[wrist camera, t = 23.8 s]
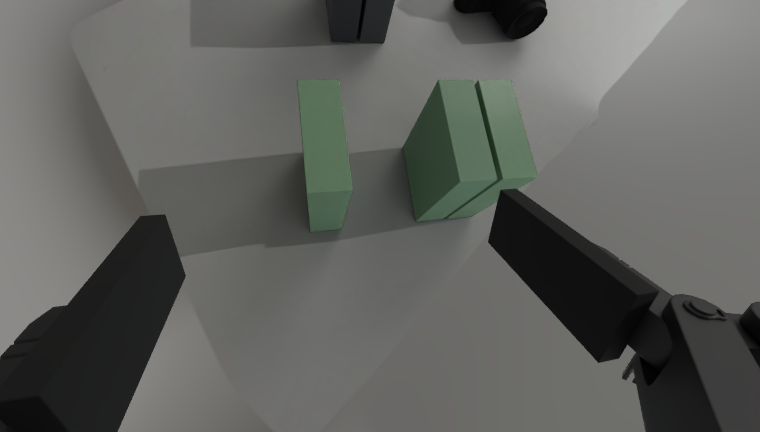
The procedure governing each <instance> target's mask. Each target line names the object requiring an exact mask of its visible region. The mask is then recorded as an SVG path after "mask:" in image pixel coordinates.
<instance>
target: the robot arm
mask: <svg viewBox="0 0 760 432" xmlns="http://www.w3.org/2000/svg"><path fill="white" fill-rule="evenodd" d="M488 243H489V244H490V245H491V246H492V247H493V248H494V249H495V250H496V251H497V253H498V254H499V255H500V256H501V257H502V258H503V259H504V260H505V261H506V262H507V263H508V264H509V266H510V267H511V268H512V269H513V270H514V271H515V272H516V273H517V274H518V275H519V277H520V278H521V279H522V280H523V281H524V282H525V283H526V284H527V285H528V286H529V287H530V289H531V290H532V291H533V292H534V293H535V294H536V295H537V296H538V297H539V298H540V299H541V301H542V302H543V303H544V304H545V305H546V306H547V307H548V308H549V309H550V310H551V311H552V312H553V314H554V315H555V316H556V317H557V318H558V319H559V320H560V321H561V322H562V323H563V325H564V326H565V327H566V328H567V329H568V330H569V331H570V332H571V333H572V334H573V336H575V338H576V339H577V340H578V341H579V342H580V343H581V344H582V345H583V346H584V347H585V349H586V350H587V351H588V352H589V353H590V354H591V355H592V356H593V357H594V358H595V360H596V361H597V362H598V363H600V362H604V361H609V360H614V359H618V358H620V356H621V354H622V353H623V351H624V349H625V348H626V346H627V344H628V345H629V346H630V347H631V348H632V349H633V350H634V351H635V352H636V353H635V355H634V356H633V358H632V359H631V361H630V363H629V364H628V366H627V367H626V369H625V371H624V372H623V375H622V379H624V380H627V378H628V377H629V375H630V374H631V373H634V375H635V378H634V380H633V383H635V384H636V385H637V390H638V395H639V400H640V405H641V411H642V416H643V420H644V426H645V431H646V432H760V302H755V303H752V304H751V305H750V306H749V307H748V309H747V310H746V311H745V312H744V313H743V315H741V314H731V313H725V312H724V311H722V310H721V309H720V308H718V307H716V306H715V305H713V304H711V303H709V302H707V301H705V300H702V299H700V298H697V297H694V296H690V295H684V294H679V295H674V296H672V295H670V294H669V293H668V292H666V291H665V290H663V289H662V288H660V287H659V286H658V285H656V284H655V283H653V282H652V281H650V280H649V279H648V278H646V277H645V276H643V275H642V274H641V273H639V272H638V271H636V270H635V269H633V268H630V267H629V265H628V264H626V263H625V262H623V261H622V260H619V258H618V257H616V256H615V255H614V254H612V253H611V252H609V251H608V250H606V249H604V248H602V247H600V246H598V245H596V244H594V243H592V242H590V241H589V240H587V239H586V238H585V237H583V236H582V235H580V234H579V233H578V232H576V231H575V230H573V229H572V228H570V227H569V226H568V225H566V224H565V223H563V222H562V221H561V220H559V219H558V218H556V217H555V216H554V215H552V214H551V213H550V212H548V211H547V210H545V209H544V208H542V207H541V206H540V205H538V204H537V203H536V202H534V201H533V200H531V199H530V198H528V197H527V196H526V195H524V194H523V193H522V192H520V191H519V190H517V189H503V190H500V194H499V198H498V202H497V206H496V211H495V215H494V219H493V223H492V227H491V232H490V236H489V241H488ZM185 276H186V275H185V272H184V269H183V266H182V263H181V260H180V257H179V254H178V251H177V248H176V245H175V242H174V239H173V236H172V234H171V231H170V228H169V225H168V222H167V219H166V216H165V215H151V216H140V217H139V219H138V220H137V221H136V222H135V223H134V225H133V226H132V227H131V228H130V230H129V231H128V232H127V233H126V234H125V236H124V237H123V238H122V239H121V240H120V242H119V243H118V244H117V245H116V247H115V248H114V249H113V250H112V251H111V253H110V254H109V255H108V256H107V257H106V259H105V260H104V261H103V263H102V264H101V265H100V266H99V267H98V268H97V270H96V271H95V272H94V273H93V275H92V276H91V277H90V278H89V279H88V281H87V282H86V283H85V284H84V285H83V287H82V288H81V289H80V291H79V292H78V293H77V294H76V295H75V296H74V298H73V299H72V300H71V301H70V303H69V304H68V305H67V306H59V307H53V308H52V309H50V310H49V311H47V312H46V313H44V314H43V315H41V316H40V317H39V318H37V319H36V320H35V321H33V322H32V323H30V324H29V325H28V326H27V328H26V329H25V330H24V331H23V332H22V333H21V334H20V335H19V337H18V338H17V339H16V340H15V341H14V345H11V346H10V347H9V348H8V349H7V350H6V351H5V352H4V353H3V354H2V355H1V357H0V432H118V429H119V427H120V425H121V422H122V420H123V418H124V416H125V413H126V411H127V409H128V406H129V404H130V402H131V400H132V397H133V395H134V393H135V391H136V388H137V386H138V384H139V381H140V379H141V377H142V374H143V372H144V370H145V368H146V365H147V363H148V361H149V359H150V356H151V354H152V352H153V349H154V347H155V345H156V343H157V340H158V338H159V336H160V333H161V331H162V329H163V327H164V324H165V322H166V320H167V317H168V315H169V313H170V311H171V308H172V306H173V304H174V301H175V299H176V297H177V295H178V292H179V290H180V288H181V286H182V283H183V281H184V279H185Z"/></svg>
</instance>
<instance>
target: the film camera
mask: <svg viewBox="0 0 760 432" xmlns="http://www.w3.org/2000/svg"><path fill="white" fill-rule="evenodd" d="M454 4H455V7H456V9H457V10H458V11H460V12H462V13H477V12H492V14H493V15H494V16H495V18H497V19H498V21H499V22H500V23H501V26H502V29H503V31H504V32H505V33H506V34H507V35H508V37H509V38H511V39H519V38H523V37H525V36H527V35H529V34H530V33H532V32H533V31H535V30H536V29H537V28H538V27H539V26H540V25H541V24H542V23H543V21H544V18H545V17H546V16H547V9H546V2H545V0H454Z"/></svg>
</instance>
